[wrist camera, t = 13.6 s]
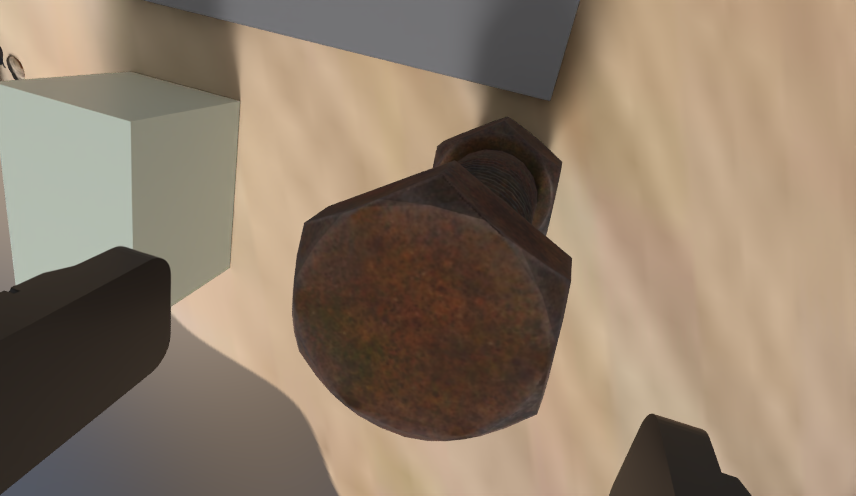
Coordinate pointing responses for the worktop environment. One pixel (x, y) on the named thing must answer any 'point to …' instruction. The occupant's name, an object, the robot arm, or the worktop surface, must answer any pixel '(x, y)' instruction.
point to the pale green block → (118, 173)
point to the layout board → (424, 33)
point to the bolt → (439, 290)
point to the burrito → (13, 66)
